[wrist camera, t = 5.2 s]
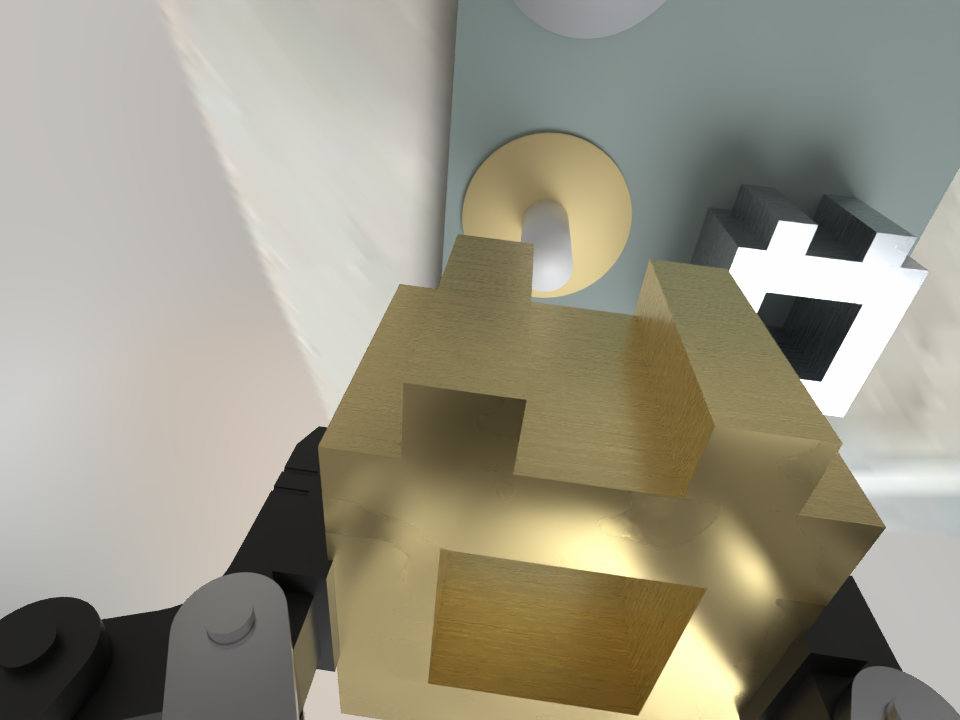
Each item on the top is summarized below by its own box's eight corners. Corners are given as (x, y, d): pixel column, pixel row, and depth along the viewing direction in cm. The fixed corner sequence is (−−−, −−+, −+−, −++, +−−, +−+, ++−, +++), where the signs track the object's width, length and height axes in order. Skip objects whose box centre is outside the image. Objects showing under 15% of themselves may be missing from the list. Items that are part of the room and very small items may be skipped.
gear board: (1150, -250, 15) (1453, -371, 10) (815, 382, 27) (877, 471, 22) (483, -313, 15) (453, -458, 10) (442, 332, 27) (418, 409, 22)
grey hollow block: (881, 200, 20) (946, 241, 17) (793, 377, 25) (831, 436, 22) (716, 180, 21) (749, 216, 17) (658, 360, 25) (675, 415, 22)
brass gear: (787, 276, 9) (939, 458, 5) (648, 589, 13) (683, 793, 10) (401, 226, 9) (311, 370, 5) (394, 551, 13) (343, 740, 10)
